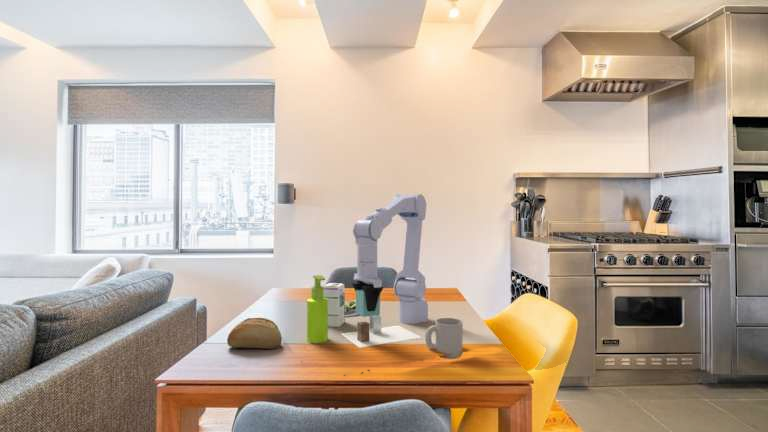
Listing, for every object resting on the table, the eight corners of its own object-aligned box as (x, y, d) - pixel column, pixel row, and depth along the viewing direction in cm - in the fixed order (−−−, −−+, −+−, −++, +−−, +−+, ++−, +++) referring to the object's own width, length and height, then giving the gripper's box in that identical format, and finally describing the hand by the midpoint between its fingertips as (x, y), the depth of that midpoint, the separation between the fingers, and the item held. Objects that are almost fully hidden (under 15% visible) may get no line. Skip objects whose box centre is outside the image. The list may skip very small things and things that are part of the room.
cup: (465, 358, 106) (465, 324, 106) (427, 359, 106) (427, 325, 106) (458, 349, 113) (458, 317, 113) (423, 350, 113) (423, 318, 113)
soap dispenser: (311, 350, 112) (311, 278, 112) (304, 343, 118) (304, 274, 118) (331, 347, 115) (332, 276, 114) (323, 340, 121) (323, 273, 120)
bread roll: (232, 342, 119) (232, 315, 119) (284, 341, 120) (284, 314, 120) (222, 353, 110) (222, 324, 110) (278, 352, 111) (278, 323, 111)
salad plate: (351, 324, 140) (351, 310, 140) (306, 319, 146) (306, 306, 146) (372, 311, 158) (372, 299, 158) (331, 307, 164) (331, 295, 164)
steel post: (377, 330, 126) (377, 314, 126) (381, 332, 123) (381, 316, 123) (369, 331, 125) (369, 315, 125) (373, 334, 122) (373, 317, 122)
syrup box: (339, 331, 130) (340, 286, 130) (322, 330, 131) (322, 285, 131) (345, 326, 135) (345, 283, 135) (328, 325, 137) (328, 282, 136)
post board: (398, 329, 132) (398, 325, 132) (421, 342, 119) (421, 337, 119) (340, 338, 123) (340, 333, 123) (359, 353, 110) (359, 347, 110)
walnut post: (365, 338, 118) (365, 321, 118) (369, 341, 116) (369, 323, 116) (357, 339, 117) (357, 322, 117) (361, 342, 114) (361, 324, 114)
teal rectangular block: (371, 311, 120) (372, 288, 120) (379, 315, 115) (380, 291, 115) (355, 312, 118) (356, 289, 118) (363, 316, 113) (363, 293, 113)
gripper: (344, 259, 121) (344, 304, 121) (365, 265, 108) (364, 316, 108) (366, 258, 124) (366, 302, 124) (388, 263, 111) (388, 313, 111)
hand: (367, 308), depth 117 cm, fingers closed on teal rectangular block, 5 cm apart
